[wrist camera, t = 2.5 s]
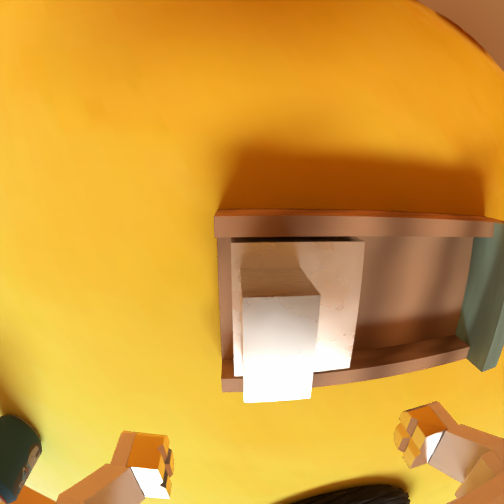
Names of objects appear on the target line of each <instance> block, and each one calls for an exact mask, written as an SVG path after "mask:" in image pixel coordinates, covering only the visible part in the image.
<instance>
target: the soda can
mask: <svg viewBox="0 0 504 504" xmlns="http://www.w3.org/2000/svg"><path fill="white" fill-rule="evenodd" d="M41 452H42V446H41V439H40V437H39V435H38V433H37V432H36V431H35V429H34V428H33V427H32V426H31V425H30V424H29V423H27V422H26V421H25V420H23V419H22V418H20V417H18V416H16V415H12V414H11V415H4V416H1V417H0V501H2V502H4V503H6V504H9V503H11V502H14V501H15V500H16V499H17V497H18V495H19V493H20V491H21V489H22V487H23V485H24V484H25V482H26V480H27V478H28V476H29V474H30V472H31V471H32V469H33V467H34V465H35V463H36V462H37V460H38V458H39V456H40V454H41Z"/></svg>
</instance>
